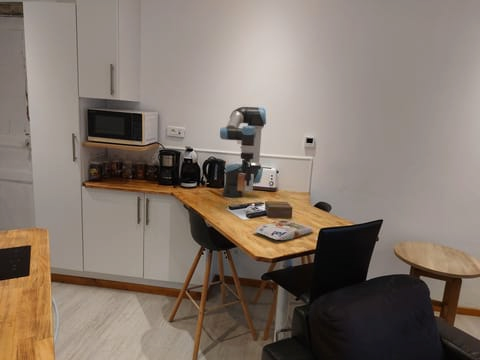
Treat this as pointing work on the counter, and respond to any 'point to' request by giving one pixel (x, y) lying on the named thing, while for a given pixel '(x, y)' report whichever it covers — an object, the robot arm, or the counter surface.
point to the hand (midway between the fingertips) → (245, 189)
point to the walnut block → (278, 210)
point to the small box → (242, 182)
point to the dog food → (283, 229)
